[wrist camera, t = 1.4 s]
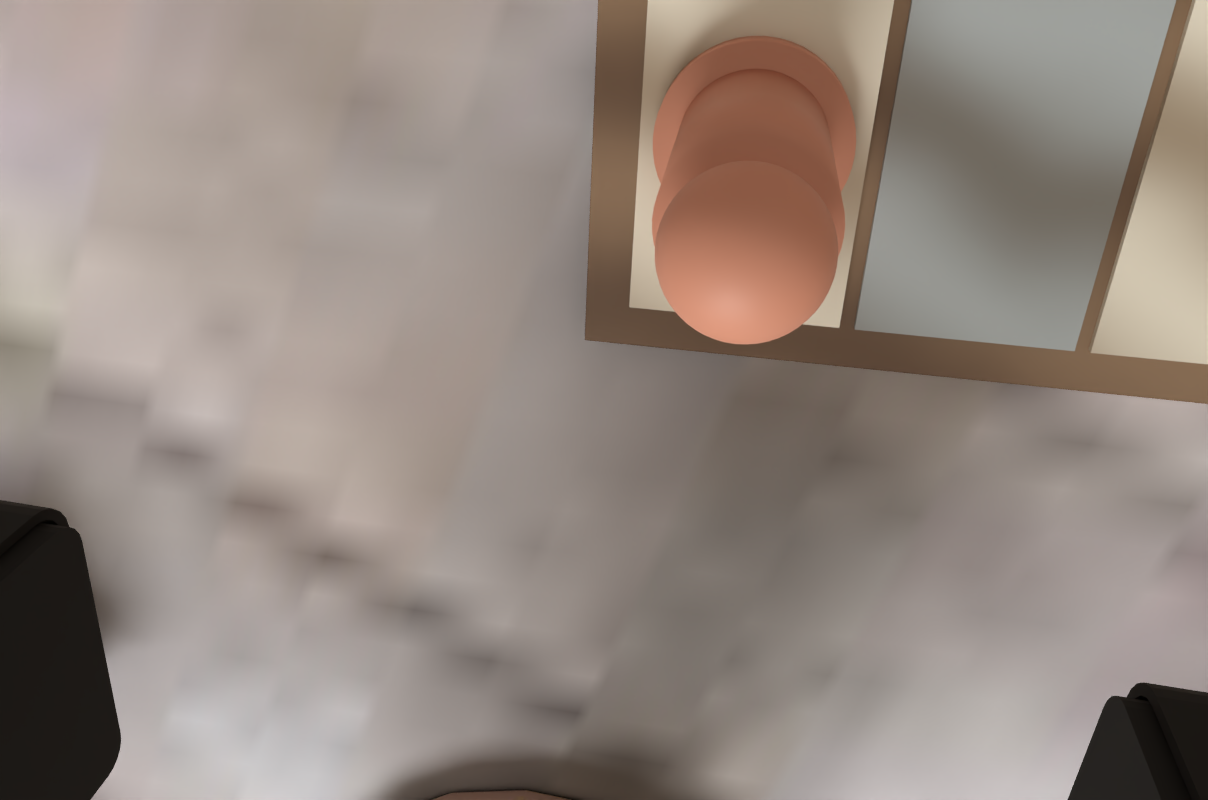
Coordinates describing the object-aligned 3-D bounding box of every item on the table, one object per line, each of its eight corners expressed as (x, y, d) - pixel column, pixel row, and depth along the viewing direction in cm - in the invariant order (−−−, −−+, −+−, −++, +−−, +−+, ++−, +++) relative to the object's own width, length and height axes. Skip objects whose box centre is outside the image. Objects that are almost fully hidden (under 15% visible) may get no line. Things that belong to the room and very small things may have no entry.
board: (610, -148, 24) (602, -147, 23) (1863, -81, 21) (1919, -78, 20) (590, 325, 30) (583, 342, 29) (1575, 424, 27) (1607, 448, 26)
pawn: (663, 28, 25) (603, 128, 16) (869, 42, 24) (921, 153, 16) (649, 223, 27) (591, 401, 18) (837, 240, 26) (868, 430, 18)
